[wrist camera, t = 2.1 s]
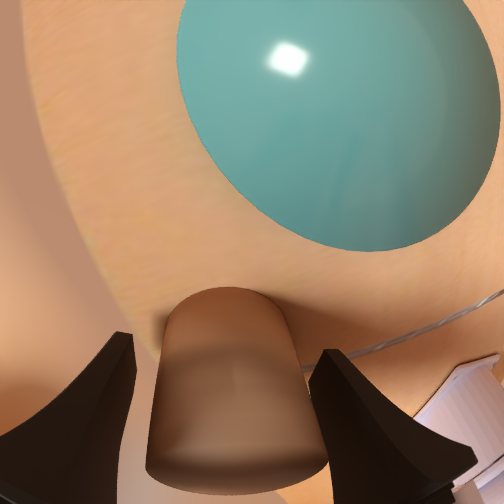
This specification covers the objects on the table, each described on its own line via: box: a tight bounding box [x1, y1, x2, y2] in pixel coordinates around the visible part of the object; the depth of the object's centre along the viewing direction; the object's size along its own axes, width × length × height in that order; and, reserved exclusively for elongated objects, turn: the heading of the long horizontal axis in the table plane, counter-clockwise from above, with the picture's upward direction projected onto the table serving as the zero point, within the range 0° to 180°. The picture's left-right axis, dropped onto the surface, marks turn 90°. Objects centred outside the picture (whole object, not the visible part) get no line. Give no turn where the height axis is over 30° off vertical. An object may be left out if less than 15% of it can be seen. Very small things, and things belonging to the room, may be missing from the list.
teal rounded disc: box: [177, 0, 500, 252], centre depth 6 cm, size 12×12×1 cm
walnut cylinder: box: [145, 287, 329, 495], centre depth 8 cm, size 5×5×6 cm
